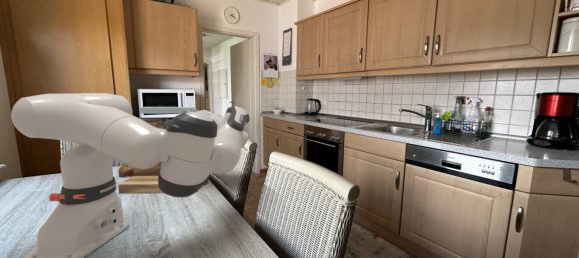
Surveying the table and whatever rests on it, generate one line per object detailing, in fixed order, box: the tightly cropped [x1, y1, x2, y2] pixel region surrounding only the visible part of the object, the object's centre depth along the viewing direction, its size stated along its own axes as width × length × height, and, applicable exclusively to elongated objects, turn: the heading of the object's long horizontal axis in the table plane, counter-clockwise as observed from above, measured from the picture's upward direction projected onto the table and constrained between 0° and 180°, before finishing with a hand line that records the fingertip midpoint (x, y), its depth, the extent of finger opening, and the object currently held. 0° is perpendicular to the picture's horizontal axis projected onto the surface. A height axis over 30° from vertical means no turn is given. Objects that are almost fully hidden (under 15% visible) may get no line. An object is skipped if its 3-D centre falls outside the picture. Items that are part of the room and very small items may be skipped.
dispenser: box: [133, 116, 169, 176], centre depth 111 cm, size 11×12×28 cm
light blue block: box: [139, 106, 196, 114], centre depth 109 cm, size 4×22×2 cm, turn 92°
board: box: [117, 176, 165, 194], centre depth 102 cm, size 10×24×4 cm, turn 92°
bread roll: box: [118, 163, 134, 178], centre depth 119 cm, size 10×10×8 cm
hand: (185, 109), depth 109 cm, fingers closed on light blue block, 4 cm apart
